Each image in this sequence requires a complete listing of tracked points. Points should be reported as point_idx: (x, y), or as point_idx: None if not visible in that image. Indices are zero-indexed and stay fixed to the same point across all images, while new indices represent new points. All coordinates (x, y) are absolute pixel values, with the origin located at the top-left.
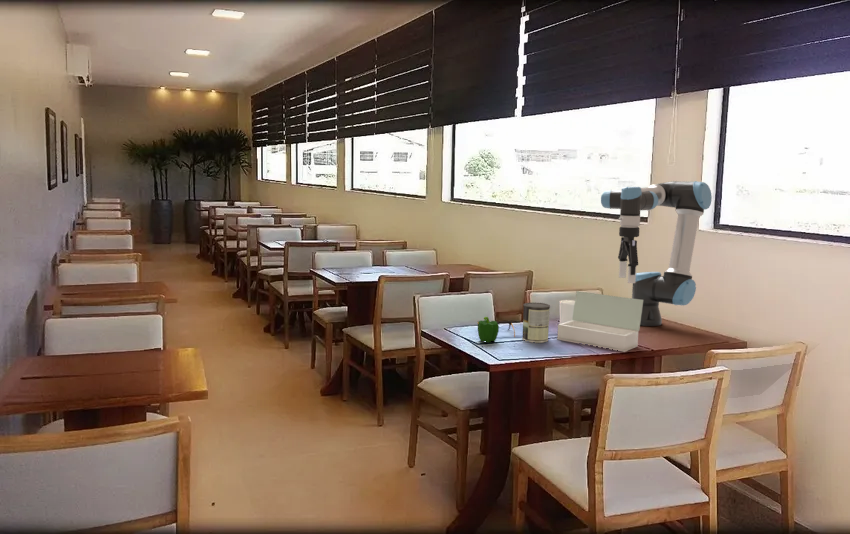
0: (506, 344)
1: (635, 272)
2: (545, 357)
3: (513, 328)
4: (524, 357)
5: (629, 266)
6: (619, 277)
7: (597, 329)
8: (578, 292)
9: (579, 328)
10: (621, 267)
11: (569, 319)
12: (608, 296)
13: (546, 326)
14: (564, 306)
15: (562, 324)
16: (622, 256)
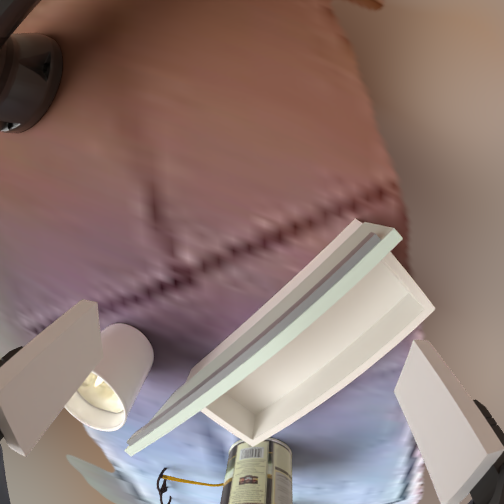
0: (301, 494)
1: (470, 405)
2: (412, 454)
3: (210, 485)
4: (401, 478)
5: (461, 499)
6: (102, 355)
7: None
8: (138, 450)
9: (307, 412)
10: (52, 400)
11: (142, 384)
12: (235, 381)
13: (284, 473)
14: (121, 421)
15: (248, 436)
16: (3, 502)
